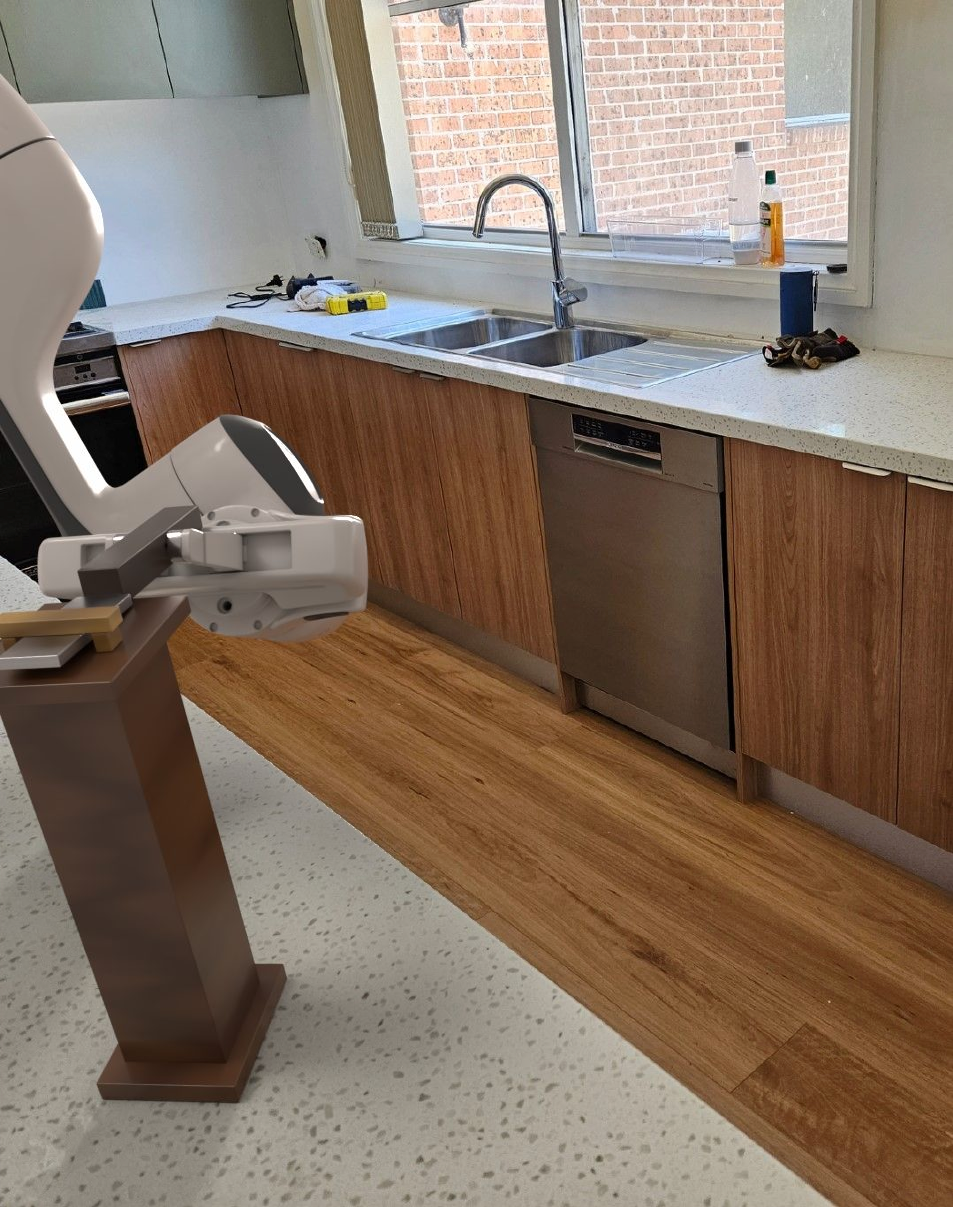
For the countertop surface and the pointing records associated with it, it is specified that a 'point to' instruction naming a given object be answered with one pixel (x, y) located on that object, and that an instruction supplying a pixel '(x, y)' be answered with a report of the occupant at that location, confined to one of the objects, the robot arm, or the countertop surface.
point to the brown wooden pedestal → (139, 851)
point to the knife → (108, 585)
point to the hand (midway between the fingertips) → (147, 546)
